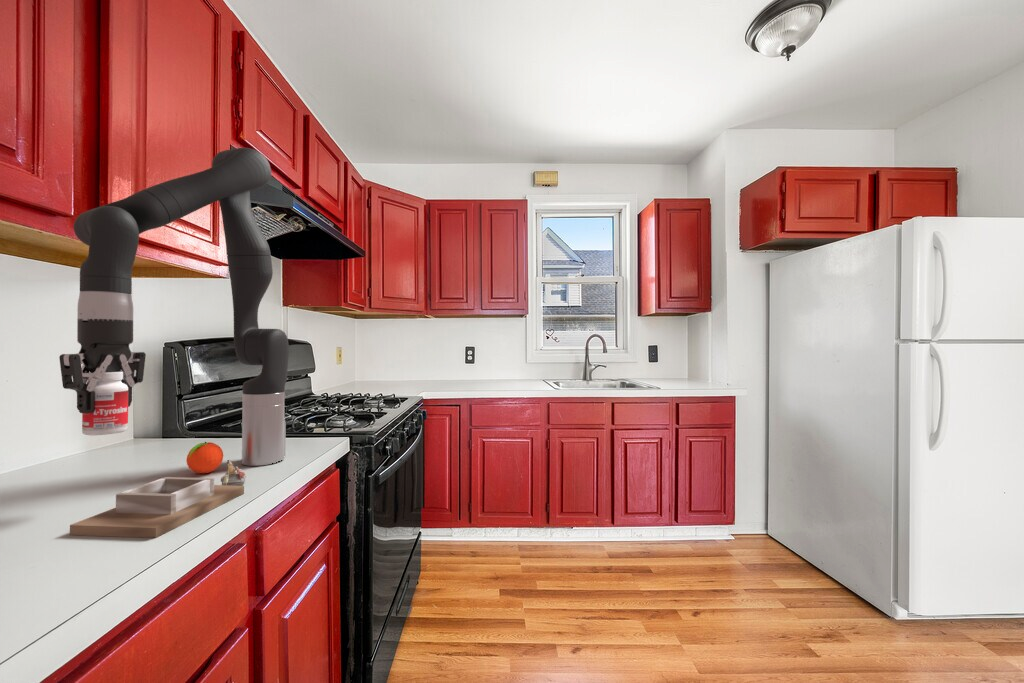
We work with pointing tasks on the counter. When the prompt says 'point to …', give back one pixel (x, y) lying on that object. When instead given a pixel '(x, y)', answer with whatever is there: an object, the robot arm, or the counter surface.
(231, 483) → the figurine
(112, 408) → the pill bottle
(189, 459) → the clementine
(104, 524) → the bottle holder
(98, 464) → the counter surface
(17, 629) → the counter surface
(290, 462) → the counter surface
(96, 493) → the counter surface
